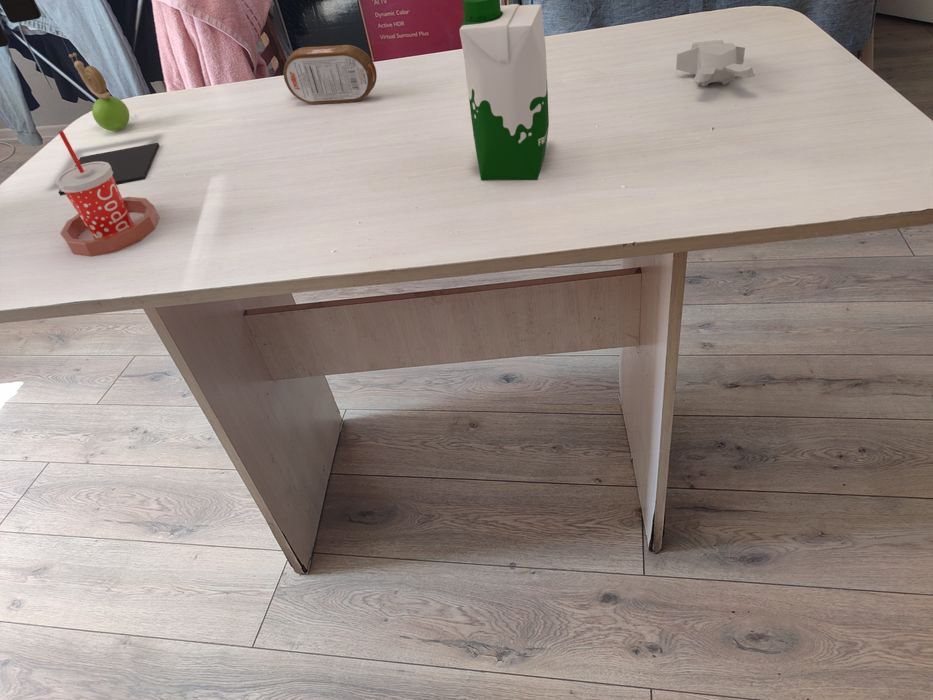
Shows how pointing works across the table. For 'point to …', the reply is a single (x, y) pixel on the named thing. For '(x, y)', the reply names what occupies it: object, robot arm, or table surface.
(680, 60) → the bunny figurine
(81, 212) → the beverage cup
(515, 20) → the milk carton
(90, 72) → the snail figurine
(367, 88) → the tin
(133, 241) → the reddish brown ring
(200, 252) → the table surface
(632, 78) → the table surface
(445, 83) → the table surface
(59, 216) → the table surface
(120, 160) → the mat
